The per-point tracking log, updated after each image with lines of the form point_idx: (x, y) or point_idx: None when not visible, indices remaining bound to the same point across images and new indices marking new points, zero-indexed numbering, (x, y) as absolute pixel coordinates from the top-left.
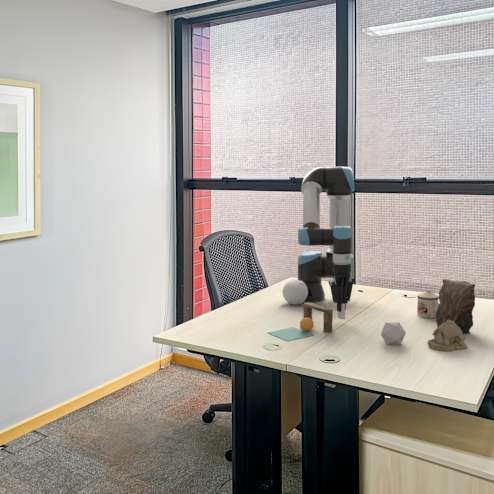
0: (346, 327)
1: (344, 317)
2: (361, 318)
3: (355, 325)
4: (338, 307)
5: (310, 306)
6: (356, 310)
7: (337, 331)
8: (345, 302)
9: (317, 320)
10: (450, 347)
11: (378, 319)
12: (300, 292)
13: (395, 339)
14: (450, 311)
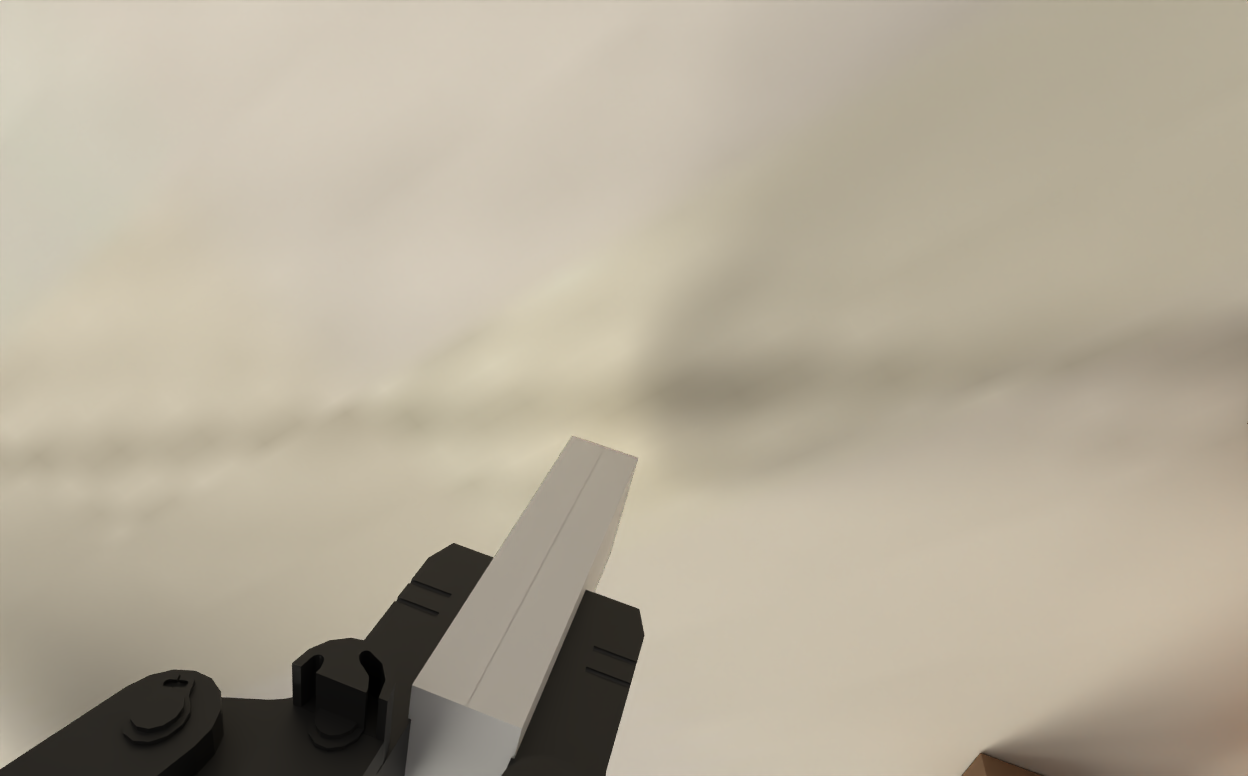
0: (810, 248)
1: (570, 453)
2: (196, 310)
3: (576, 176)
4: (618, 719)
5: None
6: (33, 522)
7: (1231, 252)
8: (385, 714)
9: (726, 745)
10: None
11: (3, 45)
12: None
13: None
14: None
